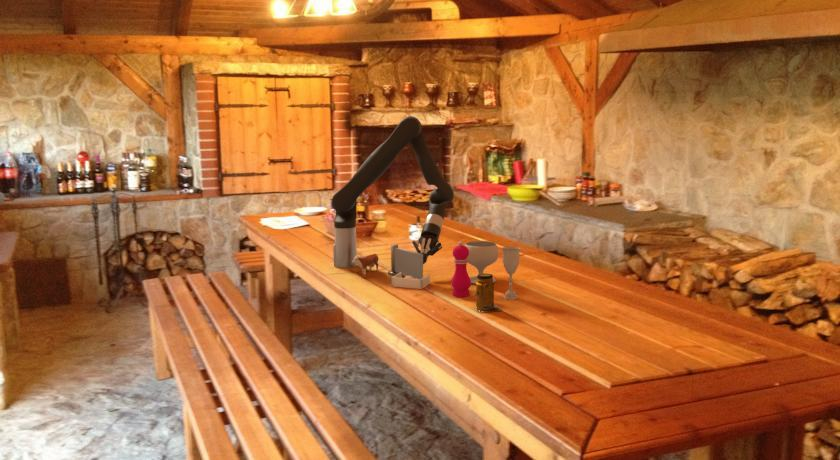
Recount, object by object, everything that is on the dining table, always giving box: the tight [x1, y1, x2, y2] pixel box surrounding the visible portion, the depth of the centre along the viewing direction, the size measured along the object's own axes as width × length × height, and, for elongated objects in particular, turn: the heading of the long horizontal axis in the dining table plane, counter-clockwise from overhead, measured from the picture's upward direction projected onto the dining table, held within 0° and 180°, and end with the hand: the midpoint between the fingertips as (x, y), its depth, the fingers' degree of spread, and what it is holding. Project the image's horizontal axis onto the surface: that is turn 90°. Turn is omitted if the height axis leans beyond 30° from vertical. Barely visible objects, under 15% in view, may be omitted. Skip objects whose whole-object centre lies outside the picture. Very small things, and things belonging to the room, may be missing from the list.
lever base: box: [387, 270, 398, 277], centre depth 294 cm, size 6×6×1 cm
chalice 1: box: [464, 240, 500, 285], centre depth 278 cm, size 14×14×15 cm
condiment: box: [475, 272, 503, 313], centre depth 241 cm, size 7×8×12 cm
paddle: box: [390, 243, 424, 279], centre depth 286 cm, size 20×3×11 cm, turn 37°
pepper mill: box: [450, 240, 472, 298], centre depth 258 cm, size 7×7×20 cm
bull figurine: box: [352, 253, 379, 276], centre depth 296 cm, size 4×13×8 cm, turn 137°
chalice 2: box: [501, 246, 521, 301], centre depth 254 cm, size 7×7×18 cm
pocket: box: [390, 272, 431, 290], centre depth 275 cm, size 13×9×4 cm
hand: (421, 262), depth 283 cm, fingers closed
